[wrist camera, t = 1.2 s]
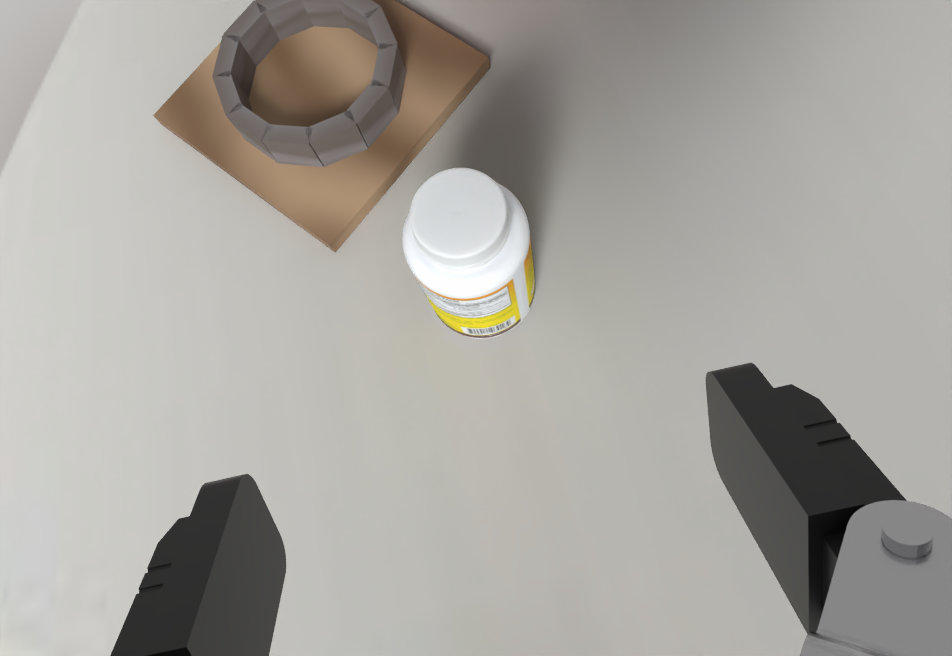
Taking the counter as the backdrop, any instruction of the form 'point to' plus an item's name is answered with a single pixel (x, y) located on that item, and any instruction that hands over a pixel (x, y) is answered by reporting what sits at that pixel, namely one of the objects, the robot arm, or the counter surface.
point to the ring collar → (323, 104)
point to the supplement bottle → (471, 252)
